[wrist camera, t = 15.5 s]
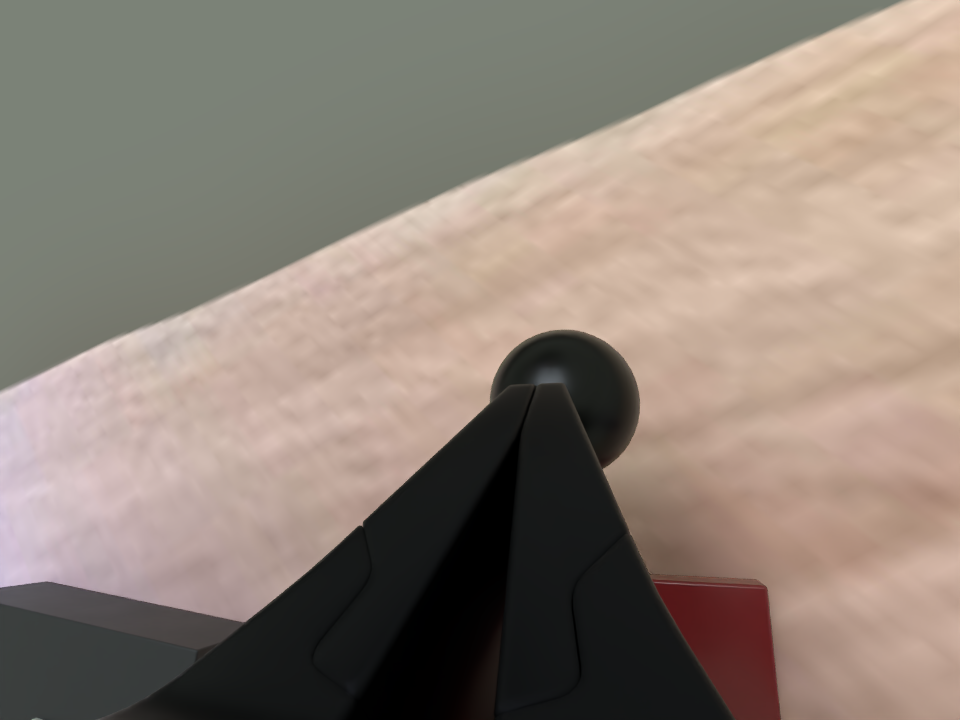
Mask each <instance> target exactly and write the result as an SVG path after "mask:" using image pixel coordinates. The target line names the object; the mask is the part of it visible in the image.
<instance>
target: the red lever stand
mask: <svg viewBox="0 0 960 720" xmlns="http://www.w3.org/2000/svg"><path fill="white" fill-rule="evenodd" d="M650 576H651V579H652V581H653V583H654V585H655V587H656V589H657V591H658V593H659V595H660V597H661V598H662V600H663V602H664V603H665V605H666V607H667V609H668V610H669V612H670V614H671V616H672V617H673V619H674V621H675V623H676V624H677V626H678V628H679V629H680V631H681V633H682V635H683V636H684V638H685V640H686V641H687V643H688V644H689V646H690V648H691V649H692V651H693V652H694V654H695V655H696V657H697V659H698V660H699V662H700V663H701V665H702V667H703V668H704V670H705V671H706V673H707V675H708V676H709V678H710V679H711V681H712V683H713V684H714V686H715V687H716V689H717V691H718V692H719V694H720V695H721V697H722V699H723V700H724V702H725V703H726V705H727V707H728V708H729V710H730V711H731V713H732V715H733V716H734V718H735V719H736V720H781V716H780V707H779V697H778V687H777V677H776V668H775V658H774V648H773V638H772V629H771V619H770V609H769V599H768V590H767V587H766V586H765V585H764V584H762V583H761V582H760V581H758V580H756V579H737V578H717V577H697V576H677V575H658V574H650Z"/></svg>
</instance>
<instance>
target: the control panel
mask: <svg viewBox="0 0 960 720" xmlns="http://www.w3.org/2000/svg"><path fill="white" fill-rule="evenodd" d="M243 624H244V623H242V622H237V621H233V620H228V619H223V618H218V617H213V616H209V615H204V614H199V613H194V612H190V611H185V610H180V609H175V608H171V607H166V606H161V605H156V604H151V603H147V602H142V601H137V600H132V599H128V598H123V597H118V596H113V595H109V594H104V593H99V592H94V591H89V590H85V589H80V588H75V587H70V586H66V585H61V584H56V583H51V582H40V583H32V584H25V585H17V586H10V587H2V588H0V720H97V719H100V718H103V717H106V716H108V715H111V714H113V713H115V712H118V711H120V710H122V709H125V708H127V707H129V706H131V705H133V704H135V703H136V702H138V701H140V700H142V699H144V698H146V697H147V696H149V695H151V694H152V693H154V692H155V691H157V690H158V689H160V688H162V687H163V686H165V685H166V684H167V683H169V682H170V681H171V680H173V679H174V678H175V677H177V676H178V675H179V674H181V673H182V672H183V671H185V670H186V669H187V668H188V667H190V666H191V665H192V664H193V663H195V662H196V661H197V660H199V659H200V658H201V657H202V656H204V655H205V654H206V653H207V652H209V651H210V650H211V649H212V648H214V647H215V646H216V645H217V644H219V643H220V642H221V641H223V640H224V639H225V638H226V637H228V636H229V635H230V634H231V633H233V632H234V631H235V630H236V629H238V628H239V627H240V626H241V625H243Z"/></svg>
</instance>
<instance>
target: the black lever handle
mask: <svg viewBox="0 0 960 720" xmlns="http://www.w3.org/2000/svg"><path fill="white" fill-rule="evenodd" d="M542 383H564V384H565V386H566V388H567V390H568V392H569V394H570V397H571V399H572V401H573V404H574V406H575V408H576V410H577V413H578V415H579V417H580V420H581V422H582V424H583V426H584V429H585V431H586V433H587V436H588V438H589V440H590V442H591V445H592V447H593V449H594V452H595V454H596V456H597V458H598V461H599V463H600V465H601V468H602V469H603V468H605V467H607V466H608V465H610V464H611V463H612V462H613V461H615V460H616V459H617V458H618V457H619V456H620V455H621V454H622V453H623V452H624V450H625V449H626V447H627V446H628V444H629V443H630V441H631V439H632V437H633V435H634V433H635V430H636V427H637V424H638V419H639V413H640V397H639V391H638V387H637V383H636V380H635V377H634V375H633V373H632V371H631V369H630V367H629V366H628V364H627V363H626V361H625V360H624V358H623V357H622V356H621V355H620V354H619V353H618V352H617V351H616V350H615V349H614V348H613V347H611V346H610V345H609V344H608V343H606V342H605V341H603V340H601V339H599V338H597V337H595V336H593V335H590V334H587V333H584V332H580V331H575V330H554V331H548V332H544V333H541V334H538V335H535V336H533V337H531V338H529V339H527V340H525V341H524V342H522V343H521V344H519V345H518V346H517V347H516V348H514V349H513V350H512V351H511V352H510V353H509V354H508V355H507V357H506V358H505V359H504V361H503V362H502V364H501V365H500V367H499V369H498V371H497V373H496V375H495V377H494V380H493V384H492V388H491V394H490V403H491V402H492V401H493V400H494V399H495V398H496V397H497V396H498V395H499V394H500V393H501V392H503V391H504V390H505V389H506V388H507V387H508V386H510V385H519V384H534V385H535V386H536V387H537V385H539V384H542Z"/></svg>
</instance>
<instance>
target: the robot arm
mask: <svg viewBox="0 0 960 720" xmlns="http://www.w3.org/2000/svg"><path fill="white" fill-rule="evenodd" d="M97 720H736V719H735V718H734V716H733V715H732V713H731V711H730V710H729V708H728V707H727V705H726V703H725V702H724V700H723V699H722V697H721V695H720V694H719V692H718V691H717V689H716V687H715V686H714V684H713V683H712V681H711V679H710V678H709V676H708V675H707V673H706V671H705V670H704V668H703V667H702V665H701V663H700V662H699V660H698V659H697V657H696V655H695V654H694V652H693V651H692V649H691V648H690V646H689V644H688V643H687V641H686V640H685V638H684V636H683V635H682V633H681V631H680V629H679V628H678V626H677V624H676V623H675V621H674V619H673V617H672V616H671V614H670V612H669V610H668V609H667V607H666V605H665V603H664V602H663V600H662V598H661V597H660V595H659V593H658V591H657V589H656V587H655V585H654V583H653V581H652V579H651V576H650V574H649V572H648V570H647V568H646V566H645V564H644V562H643V560H642V558H641V556H640V553H639V551H638V549H637V547H636V544H635V542H634V540H633V538H632V536H631V535H630V532H629V529H628V527H627V525H626V522H625V520H624V518H623V515H622V513H621V511H620V509H619V506H618V504H617V502H616V499H615V497H614V495H613V493H612V490H611V488H610V486H609V483H608V481H607V479H606V477H605V474H604V472H603V470H602V468H601V465H600V463H599V461H598V458H597V456H596V454H595V452H594V449H593V447H592V445H591V442H590V440H589V438H588V436H587V433H586V431H585V429H584V426H583V424H582V422H581V420H580V417H579V415H578V413H577V410H576V408H575V406H574V404H573V401H572V399H571V397H570V394H569V392H568V390H567V388H566V386H565V384H564V383H542V384H539V385H537V387H536V386H535V385H534V384H519V385H510V386H508V387H507V388H506V389H505V390H504V391H503V392H501V393H500V394H499V395H498V396H497V397H496V398H495V399H494V400H493V401H492V402H491V403H490V404H489V405H488V406H486V407H485V408H484V409H483V410H482V411H481V412H480V413H479V414H478V415H477V416H476V417H475V418H474V419H473V420H471V421H470V422H469V423H468V424H467V425H466V426H465V427H464V428H463V429H462V430H461V431H460V432H459V433H458V434H457V435H455V436H454V437H453V438H452V439H451V440H450V441H449V442H448V443H447V444H446V445H445V446H444V447H443V448H442V449H440V450H439V451H438V452H437V453H436V454H435V455H434V456H433V457H432V458H431V459H430V460H429V461H428V462H427V463H425V464H424V465H423V466H422V467H421V468H420V469H419V470H418V471H417V472H416V473H415V474H414V475H413V476H412V477H410V478H409V479H408V480H407V481H406V482H405V483H404V484H403V485H402V486H401V487H400V488H399V489H398V490H397V491H395V492H394V493H393V494H392V495H391V496H390V497H389V498H388V499H387V500H386V501H385V502H384V503H383V504H382V505H380V506H379V507H378V508H377V509H376V510H375V511H374V512H373V513H372V514H371V515H370V516H369V517H368V518H367V519H366V520H364V522H363V527H362V526H358V527H357V528H356V529H355V530H353V531H352V532H351V533H350V534H349V535H348V536H347V537H346V538H345V539H344V540H343V541H342V542H341V543H340V544H338V545H337V546H336V547H335V548H334V549H333V550H332V551H331V552H329V553H328V554H327V555H326V556H325V557H324V558H323V559H322V560H321V561H319V562H318V563H317V564H316V565H315V566H314V567H313V568H312V569H310V570H309V571H308V572H307V573H306V574H305V575H303V576H302V577H301V578H300V579H298V580H297V581H296V582H295V583H294V584H292V585H291V586H290V587H289V588H288V589H286V590H285V591H284V592H283V593H281V594H280V595H279V596H278V597H277V598H275V599H274V600H273V601H272V602H270V603H269V604H268V605H267V606H265V607H264V608H263V609H262V610H260V611H259V612H258V613H257V614H255V615H254V616H253V617H252V618H250V619H249V620H248V621H246V622H245V623H244V624H243V625H241V626H240V627H239V628H238V629H236V630H235V631H234V632H233V633H231V634H230V635H229V636H228V637H226V638H225V639H224V640H223V641H221V642H220V643H219V644H217V645H216V646H215V647H214V648H212V649H211V650H210V651H209V652H207V653H206V654H205V655H204V656H202V657H201V658H200V659H199V660H197V661H196V662H195V663H193V664H192V665H191V666H190V667H188V668H187V669H186V670H185V671H183V672H182V673H181V674H179V675H178V676H177V677H175V678H174V679H173V680H171V681H170V682H169V683H167V684H166V685H165V686H163V687H162V688H160V689H158V690H157V691H155V692H154V693H152V694H151V695H149V696H147V697H146V698H144V699H142V700H140V701H138V702H136V703H135V704H133V705H131V706H129V707H127V708H125V709H122V710H120V711H118V712H115V713H113V714H111V715H108V716H106V717H103V718H100V719H97Z"/></svg>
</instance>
